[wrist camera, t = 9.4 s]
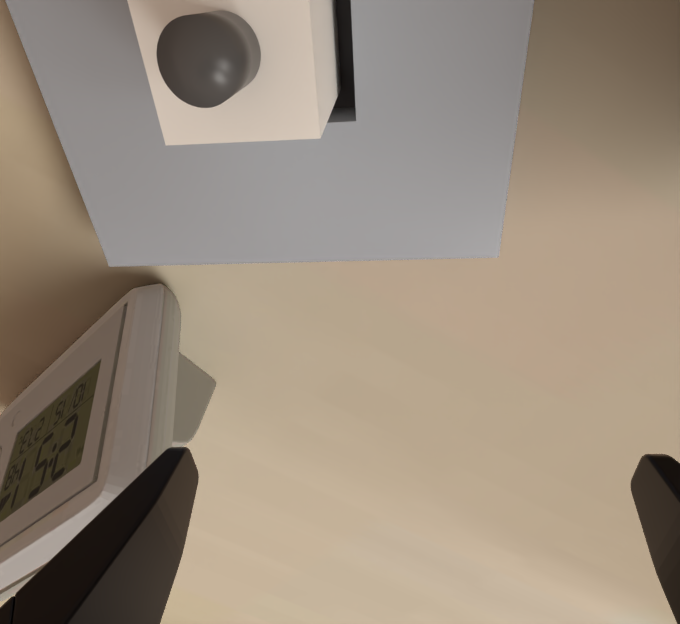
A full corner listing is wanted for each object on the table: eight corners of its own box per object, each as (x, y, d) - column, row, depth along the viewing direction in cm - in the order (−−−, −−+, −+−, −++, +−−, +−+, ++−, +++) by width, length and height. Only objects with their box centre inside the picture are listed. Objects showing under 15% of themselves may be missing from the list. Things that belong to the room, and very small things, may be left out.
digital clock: (172, 259, 23) (39, 432, 14) (277, 384, 27) (227, 578, 18) (-31, 372, 28) (-219, 547, 19) (82, 461, 32) (-29, 638, 23)
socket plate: (559, -382, 11) (598, -465, 9) (486, 230, 20) (498, 257, 18) (-48, -290, 13) (-129, -343, 11) (134, 240, 22) (109, 266, 20)
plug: (333, -47, 15) (287, -80, 8) (340, 88, 17) (310, 163, 10) (212, -38, 16) (59, -59, 8) (235, 94, 18) (131, 171, 10)
